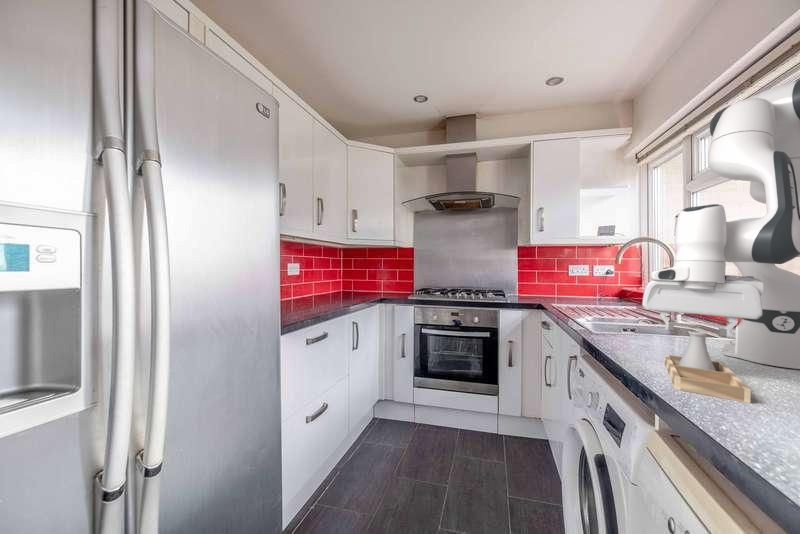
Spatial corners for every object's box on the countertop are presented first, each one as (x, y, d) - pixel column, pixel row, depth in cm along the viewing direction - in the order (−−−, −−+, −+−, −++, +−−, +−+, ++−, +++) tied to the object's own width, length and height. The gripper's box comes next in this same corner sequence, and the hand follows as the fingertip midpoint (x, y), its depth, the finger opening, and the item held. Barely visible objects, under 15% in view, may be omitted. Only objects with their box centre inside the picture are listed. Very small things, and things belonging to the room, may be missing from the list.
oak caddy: (664, 364, 82) (664, 354, 82) (722, 372, 76) (722, 362, 75) (675, 389, 65) (675, 377, 65) (750, 403, 59) (750, 389, 59)
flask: (727, 381, 70) (728, 336, 70) (689, 378, 71) (690, 334, 71) (703, 370, 77) (704, 329, 77) (668, 368, 78) (670, 328, 78)
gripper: (759, 276, 70) (756, 338, 70) (643, 272, 82) (640, 325, 82) (769, 276, 65) (766, 343, 65) (644, 272, 77) (641, 329, 77)
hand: (695, 333), depth 74 cm, fingers open, 8 cm apart
